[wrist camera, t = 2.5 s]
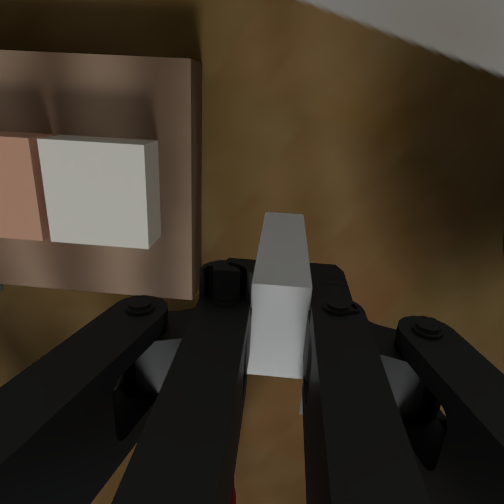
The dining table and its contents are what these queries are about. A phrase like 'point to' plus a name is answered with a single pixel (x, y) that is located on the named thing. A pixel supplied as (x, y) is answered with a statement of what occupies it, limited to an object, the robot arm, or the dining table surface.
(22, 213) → the terracotta tile
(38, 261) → the walnut plate
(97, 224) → the cream tile
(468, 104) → the dining table surface
